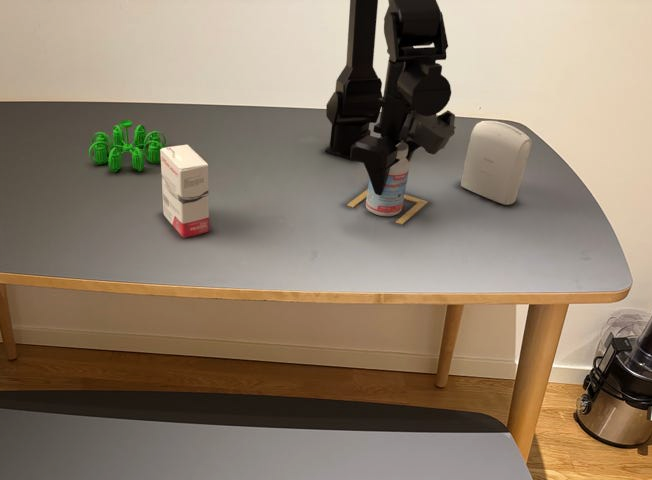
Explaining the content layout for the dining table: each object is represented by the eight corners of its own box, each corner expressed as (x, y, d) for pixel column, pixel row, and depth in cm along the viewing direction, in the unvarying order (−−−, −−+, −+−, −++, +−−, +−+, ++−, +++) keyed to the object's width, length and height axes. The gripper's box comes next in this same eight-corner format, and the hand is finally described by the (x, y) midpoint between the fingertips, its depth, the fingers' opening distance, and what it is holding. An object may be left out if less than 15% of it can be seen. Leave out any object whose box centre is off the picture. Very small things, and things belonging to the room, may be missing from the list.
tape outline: (346, 205, 125) (346, 204, 125) (373, 185, 131) (373, 184, 131) (402, 224, 120) (402, 223, 120) (427, 202, 126) (427, 201, 126)
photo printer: (455, 186, 131) (470, 118, 123) (470, 179, 133) (486, 112, 125) (505, 208, 124) (524, 138, 116) (520, 200, 127) (540, 131, 119)
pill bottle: (379, 220, 121) (390, 156, 114) (358, 204, 125) (366, 141, 118) (409, 212, 123) (421, 148, 116) (386, 197, 127) (397, 134, 120)
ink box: (211, 232, 118) (210, 163, 111) (182, 239, 117) (179, 169, 109) (189, 208, 124) (187, 141, 117) (162, 214, 123) (158, 147, 115)
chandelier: (78, 149, 142) (74, 114, 137) (152, 136, 146) (149, 101, 142) (103, 182, 131) (98, 146, 127) (180, 167, 136) (179, 131, 132)
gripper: (424, 122, 102) (406, 223, 112) (477, 88, 114) (456, 182, 124) (354, 104, 108) (342, 202, 117) (412, 73, 119) (397, 165, 129)
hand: (387, 187), depth 122 cm, fingers closed on pill bottle, 6 cm apart
